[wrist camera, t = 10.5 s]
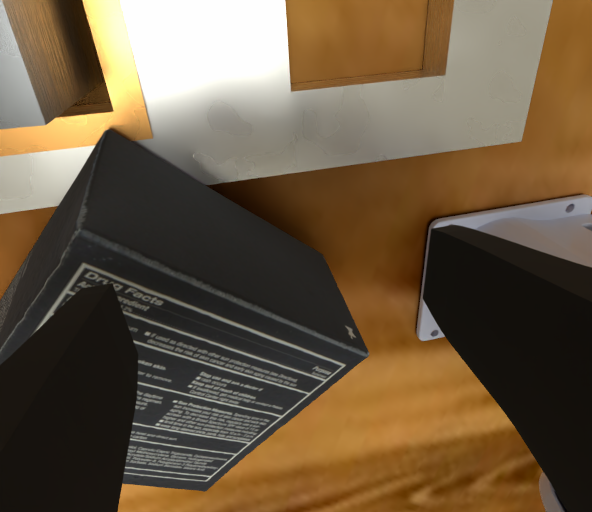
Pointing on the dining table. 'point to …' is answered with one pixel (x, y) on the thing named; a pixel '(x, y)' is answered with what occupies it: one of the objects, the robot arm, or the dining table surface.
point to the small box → (189, 310)
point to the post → (43, 60)
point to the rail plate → (277, 95)
